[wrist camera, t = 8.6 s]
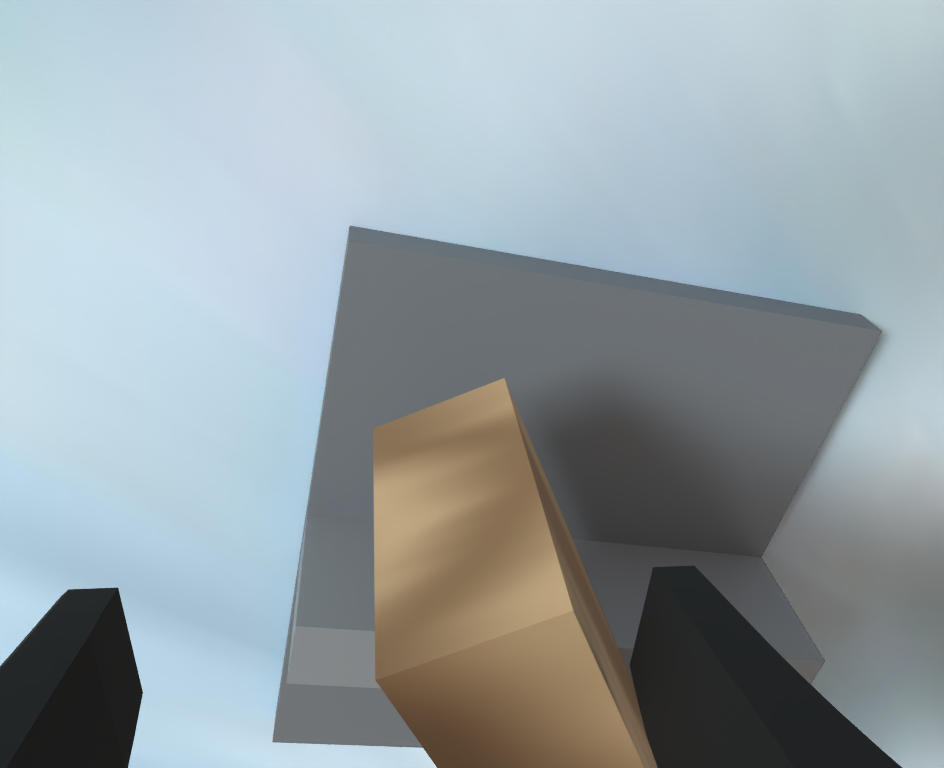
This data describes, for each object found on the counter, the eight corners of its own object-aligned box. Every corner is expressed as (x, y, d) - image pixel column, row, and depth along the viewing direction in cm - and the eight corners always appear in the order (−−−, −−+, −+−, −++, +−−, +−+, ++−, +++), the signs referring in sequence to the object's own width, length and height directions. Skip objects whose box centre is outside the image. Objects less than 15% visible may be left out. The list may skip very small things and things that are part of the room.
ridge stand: (861, 314, 21) (983, 413, 17) (646, 731, 30) (693, 866, 26) (350, 226, 18) (343, 318, 14) (275, 716, 27) (257, 865, 23)
